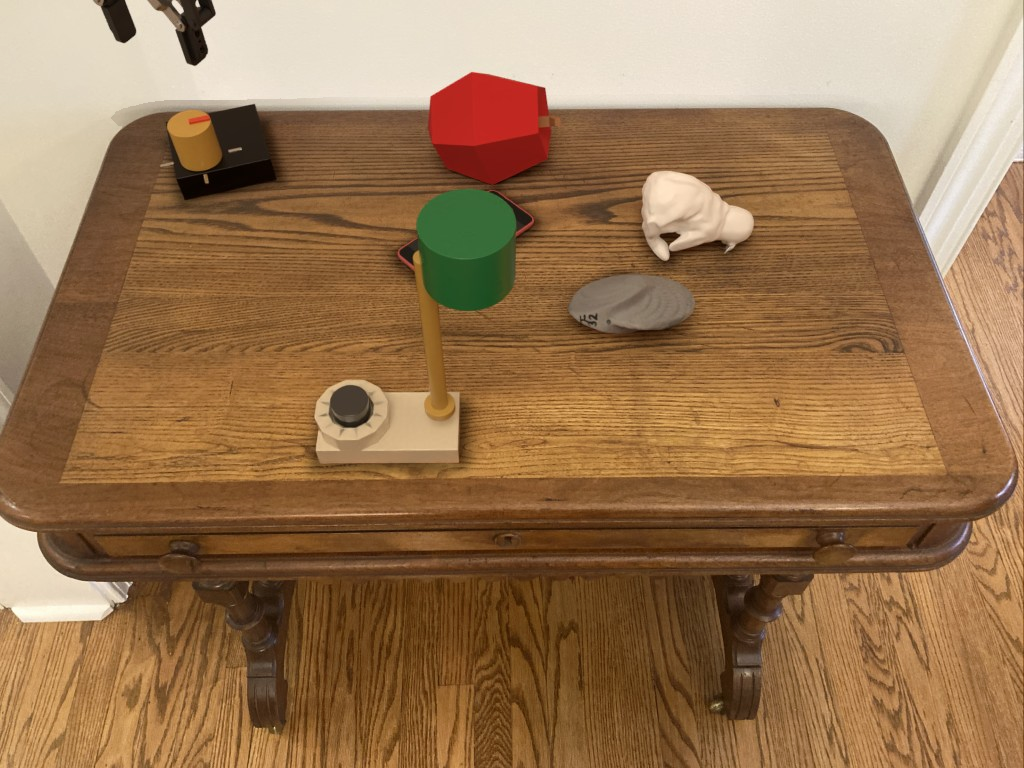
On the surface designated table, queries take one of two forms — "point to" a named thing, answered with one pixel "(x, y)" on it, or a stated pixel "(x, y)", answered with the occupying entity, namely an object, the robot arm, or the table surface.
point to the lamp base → (388, 430)
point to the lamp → (460, 271)
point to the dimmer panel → (229, 156)
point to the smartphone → (522, 216)
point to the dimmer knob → (195, 140)
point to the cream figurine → (689, 214)
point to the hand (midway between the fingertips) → (161, 49)
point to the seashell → (631, 303)
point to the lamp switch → (350, 406)
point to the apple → (490, 126)
